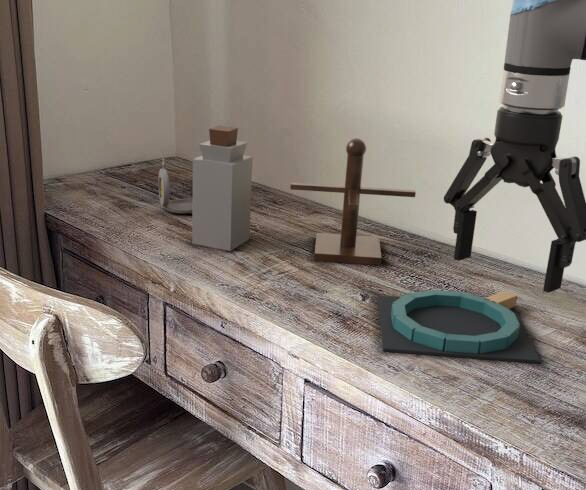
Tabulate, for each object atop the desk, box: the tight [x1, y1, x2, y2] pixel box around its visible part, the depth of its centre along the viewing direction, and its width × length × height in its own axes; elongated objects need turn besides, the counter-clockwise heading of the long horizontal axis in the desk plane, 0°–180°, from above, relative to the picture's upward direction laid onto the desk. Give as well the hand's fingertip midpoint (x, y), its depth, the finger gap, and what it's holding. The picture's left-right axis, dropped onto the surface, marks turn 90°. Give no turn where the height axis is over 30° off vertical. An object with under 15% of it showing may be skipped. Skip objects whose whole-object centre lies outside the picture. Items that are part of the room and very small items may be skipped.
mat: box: [377, 295, 541, 364], centre depth 102 cm, size 18×16×1 cm
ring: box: [391, 289, 520, 354], centre depth 102 cm, size 17×17×2 cm
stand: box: [289, 137, 417, 266], centre depth 124 cm, size 19×19×18 cm
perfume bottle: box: [191, 125, 253, 252], centre depth 126 cm, size 7×7×18 cm
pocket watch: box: [157, 154, 193, 215], centre depth 142 cm, size 8×8×10 cm
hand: (504, 273), depth 105 cm, fingers open, 13 cm apart
